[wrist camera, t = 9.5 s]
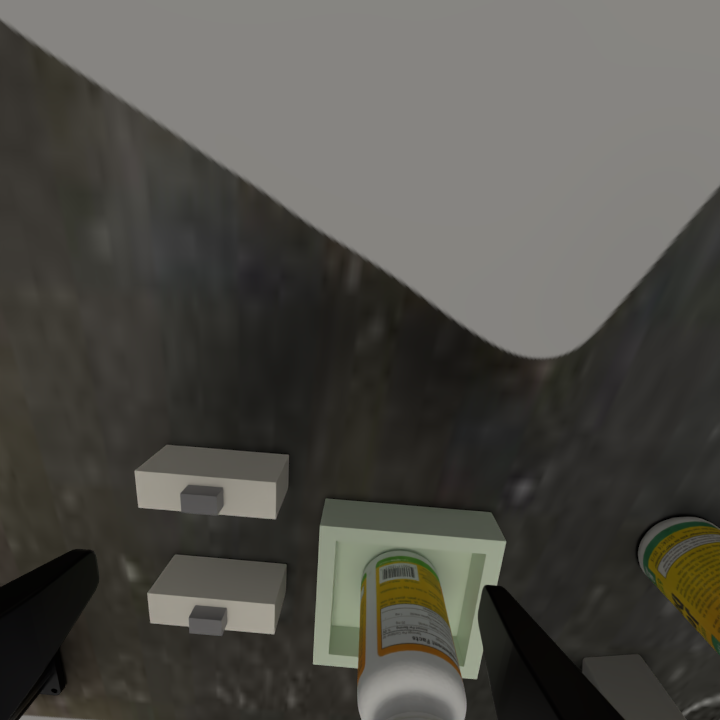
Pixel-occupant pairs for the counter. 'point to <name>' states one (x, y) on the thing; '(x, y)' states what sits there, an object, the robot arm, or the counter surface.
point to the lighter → (630, 687)
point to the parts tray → (413, 534)
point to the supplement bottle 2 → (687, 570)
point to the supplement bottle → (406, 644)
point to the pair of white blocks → (206, 574)
